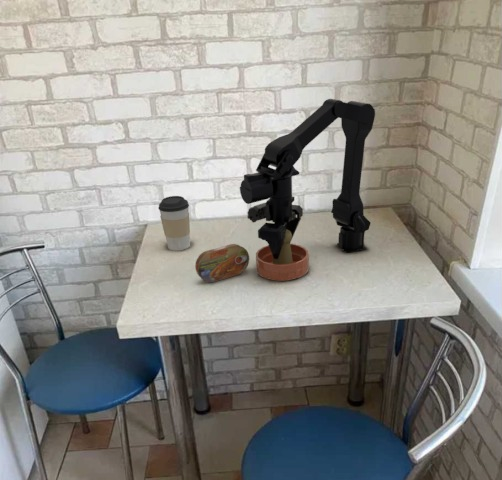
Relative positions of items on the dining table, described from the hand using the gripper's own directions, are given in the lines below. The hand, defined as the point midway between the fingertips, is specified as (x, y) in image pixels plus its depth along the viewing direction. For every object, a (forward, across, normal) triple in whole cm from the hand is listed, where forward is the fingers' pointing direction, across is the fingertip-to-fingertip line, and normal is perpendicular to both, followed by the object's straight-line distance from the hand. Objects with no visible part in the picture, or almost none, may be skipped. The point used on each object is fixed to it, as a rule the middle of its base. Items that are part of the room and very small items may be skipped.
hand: (281, 251), depth 143 cm
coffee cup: (+6, -8, -36) cm, 37 cm away
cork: (+5, 0, 0) cm, 5 cm away
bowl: (+6, 0, 0) cm, 6 cm away
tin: (+6, +8, -14) cm, 17 cm away
